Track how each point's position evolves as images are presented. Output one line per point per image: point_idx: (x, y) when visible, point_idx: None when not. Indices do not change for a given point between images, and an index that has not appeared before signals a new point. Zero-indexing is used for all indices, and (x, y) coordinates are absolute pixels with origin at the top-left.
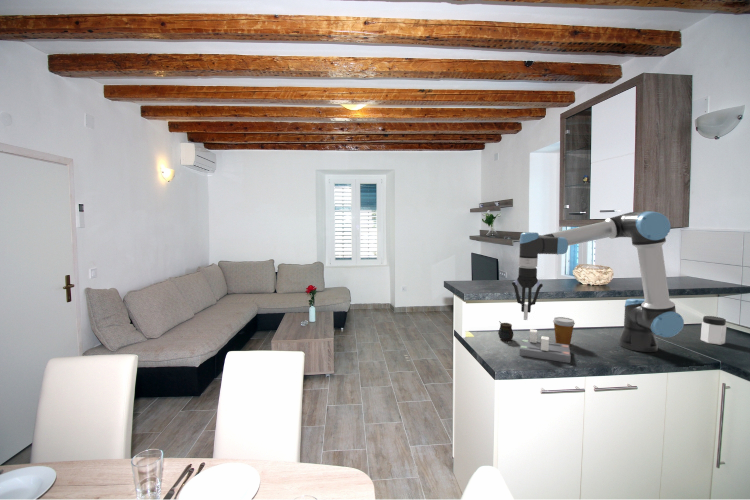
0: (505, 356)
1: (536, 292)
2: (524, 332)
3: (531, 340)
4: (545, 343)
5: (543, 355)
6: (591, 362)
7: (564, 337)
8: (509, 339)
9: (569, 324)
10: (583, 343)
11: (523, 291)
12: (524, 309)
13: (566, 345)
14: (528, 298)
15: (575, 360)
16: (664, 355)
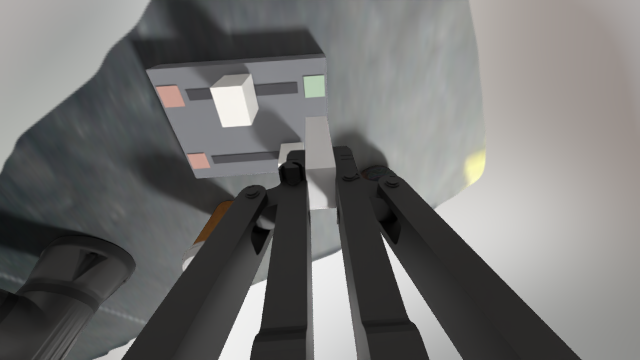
0: (372, 9)
1: (185, 314)
2: (330, 240)
3: (297, 145)
4: (228, 81)
5: (242, 61)
6: (112, 105)
7: (219, 215)
8: (364, 170)
9: (191, 249)
10: (193, 231)
11: (380, 298)
12: (329, 149)
13: (198, 168)
14: (302, 222)
15: (157, 99)
16: (23, 236)
